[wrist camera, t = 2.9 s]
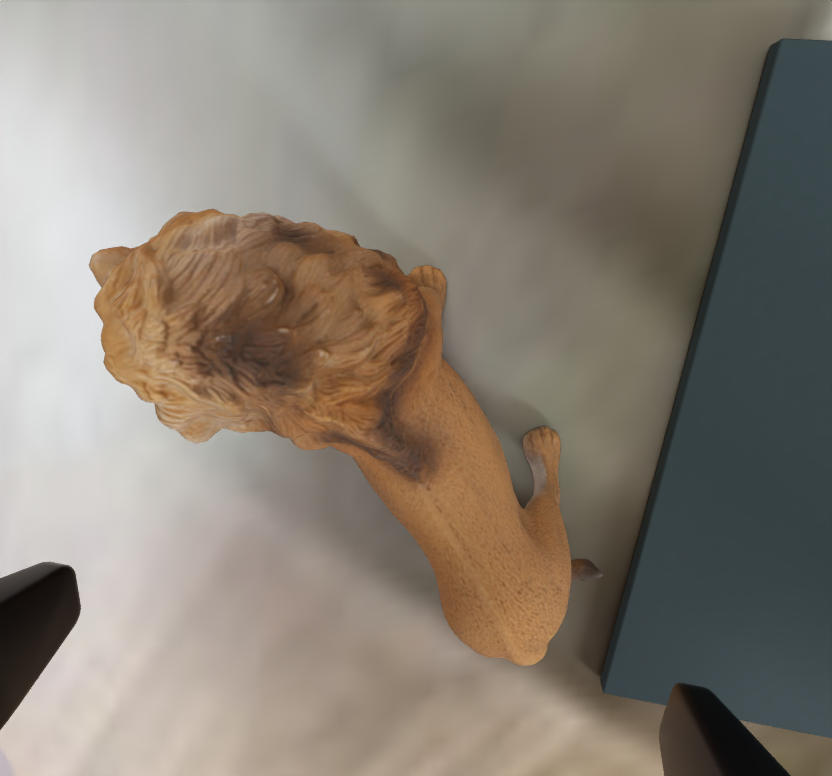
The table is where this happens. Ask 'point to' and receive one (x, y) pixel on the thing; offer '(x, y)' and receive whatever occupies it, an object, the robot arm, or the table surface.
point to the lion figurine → (345, 398)
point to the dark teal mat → (750, 441)
